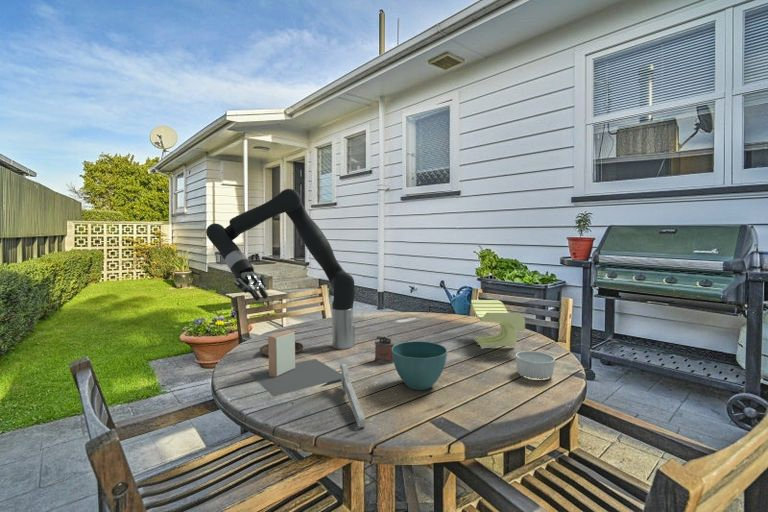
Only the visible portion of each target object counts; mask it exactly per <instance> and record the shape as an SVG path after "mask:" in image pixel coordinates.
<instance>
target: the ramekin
mask: <svg viewBox="0 0 768 512" xmlns="http://www.w3.org/2000/svg"><path fill="white" fill-rule="evenodd" d="M514 358H515V361H516V363H515V364H516V371H517V373H518V374H521V375H523V376H526V377H530V378H537V379H538V378H539V379H543V378H548V377H551V376H552V377H553V375H554V369H555V364H556V359H555V357H554V356H553V355H551V354H548V353H546V352H542V351H536V350H522V351H518V352H516V353H515V357H514ZM552 377H551V378H552Z"/></svg>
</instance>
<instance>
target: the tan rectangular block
mask: <svg viewBox="0 0 768 512" xmlns="http://www.w3.org/2000/svg"><path fill="white" fill-rule="evenodd" d="M295 331H296V330H293V329H286V330H283V331H281V332H277V333H274V334H271V335H268V338H267V339H268V341H267V342H268V343H267V344H268V349H269V353H268V354H269V357H268V369H269V376H272V377H277V376H279V375H282V374H284V373H286V372H288V371H290V370H293V369H295V363H296V355H295V342H296V334H295Z"/></svg>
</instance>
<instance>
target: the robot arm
mask: <svg viewBox="0 0 768 512" xmlns="http://www.w3.org/2000/svg"><path fill="white" fill-rule="evenodd" d="M301 200H302V199H301V195H300V193H298V191H296V190H295V189H292V188H285V189H283V190H281V191H280V192H279V194H277V195H276V196H274V197H273V198H272V199H270V200H268V201H266V202H265V203H263V204H261V205H258V206H255V207H253V208H252V209H250V210H247V211H244V212H242V213H240V214H238V215H236V216H234V217H232V218H231V219H229V225H227V226H226V227H224V226H223V225H222V224H220V223H211V224H210V225H208V227H206V232H205V233H206V237H207V239H208V240H209V241H210V242H211V244H213V246H214V247H215V248H216V249H217V251H218V253H219V254H220V256H221V257H222V259H223V260H224V261H225V263H226V266H227V267H228V269H229V270H230V272H231V273H232V274H233V276H234V277H235V280H234V282H233V284H234V286H236V287H238V289H239V290H241V291H242V292H243V293H244V294H247V293H248V294H250V295H251V296H252V298H253V299H254V300H255V301H257V302H258V301H259V300H260V299H261V297H262V299H263V300H265V299H267V298H268V297H269V294H268V291H267V290H266V288H267V286H268V285H267V280H266V278H265V275H264V274H261V275H258V274H257V273H256V272H255V269H254V266H253V265H252V264H251V262H250V261H249V259H248V258H247V257H246V255H245V254H244V253H243V252H242V250H241V249H240V248H239V246H238V245H237V244H236V243H235V242H234V240H235V239H236V238H238V237H239V236H240V235H241V234H243V233H245V232H247V231H250V230H252V229H254V228H255V227H257V226H259V225H261V224H262V223H263V222H265V221H268V220H269V219H271V218H273V217H276V216H279V215H280V214H284V213H285V214H286V215H287V216H288V218H289V219H290V220H291V222H292V224H293V225H294V227H295V229H296V231H297V233H298V235H299V237H300V239H301V241H302V242H303V244H304V245H305V247H306V249H307V250H308V251H309V253H310V255H311V257H313V258H314V260H315V261H316V263H317V264H318V265H319V266H320V267H321V269H322V270H323V272H324V273H325V275H326V277H327V279H328V282H329V283H330V286H331V287H332V289H333V300H332V304H331V311H332V312H331V315H332V316H331V317H332V319H331V322H332V324H331V326H332V327H331V328H332V329H331V330H332V332H331V333H332V335H331V338H332V339H331V340H332V348H334V349H337V350H346V349H351V348H353V347H354V346H356V324H354V303H355V279H354V277H353V276H352V275H351V274H350V273H347V272H346V271H345V270H344V269H343V267H342V266H341V265H340V263H339V262H338V261H337V258H336V256H335V254H334V251H333V248H332V246H331V243H330V242H329V240H328V239H327V237H326V236H325V234H324V233H323V231H322V230H321V228H320V227H319V226H318V224H317V222H315V221H314V220H313V219H312V217H311V216H310V215H309V214H308V212H307V210H306V209H305V207H304V204H303V203H302V201H301Z"/></svg>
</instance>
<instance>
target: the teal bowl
mask: <svg viewBox="0 0 768 512" xmlns="http://www.w3.org/2000/svg"><path fill="white" fill-rule="evenodd" d="M447 354H448V349H447V348H446V347H445V346H444V345H442V344H439V343H435V342H431V341H406V342H401V343H397V344H394V347H393V348H392V357H393V361H394V363H393V364H394V367H395V368H394V369H395V370H396V372H397V375H398V376H399V378H400V379H401V380H402V382H403V383H404V384H405V385H406V386H407V387H408V388H409V389H411V390H412V389H413V390H415V391H423V390H428V389H430V388H432V387H433V386H434V384H435V383H437V381H438V380H439V378H440V376H441V375H442V374H443V371H444V367H445V365H446V362H447V357H448V355H447Z"/></svg>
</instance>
